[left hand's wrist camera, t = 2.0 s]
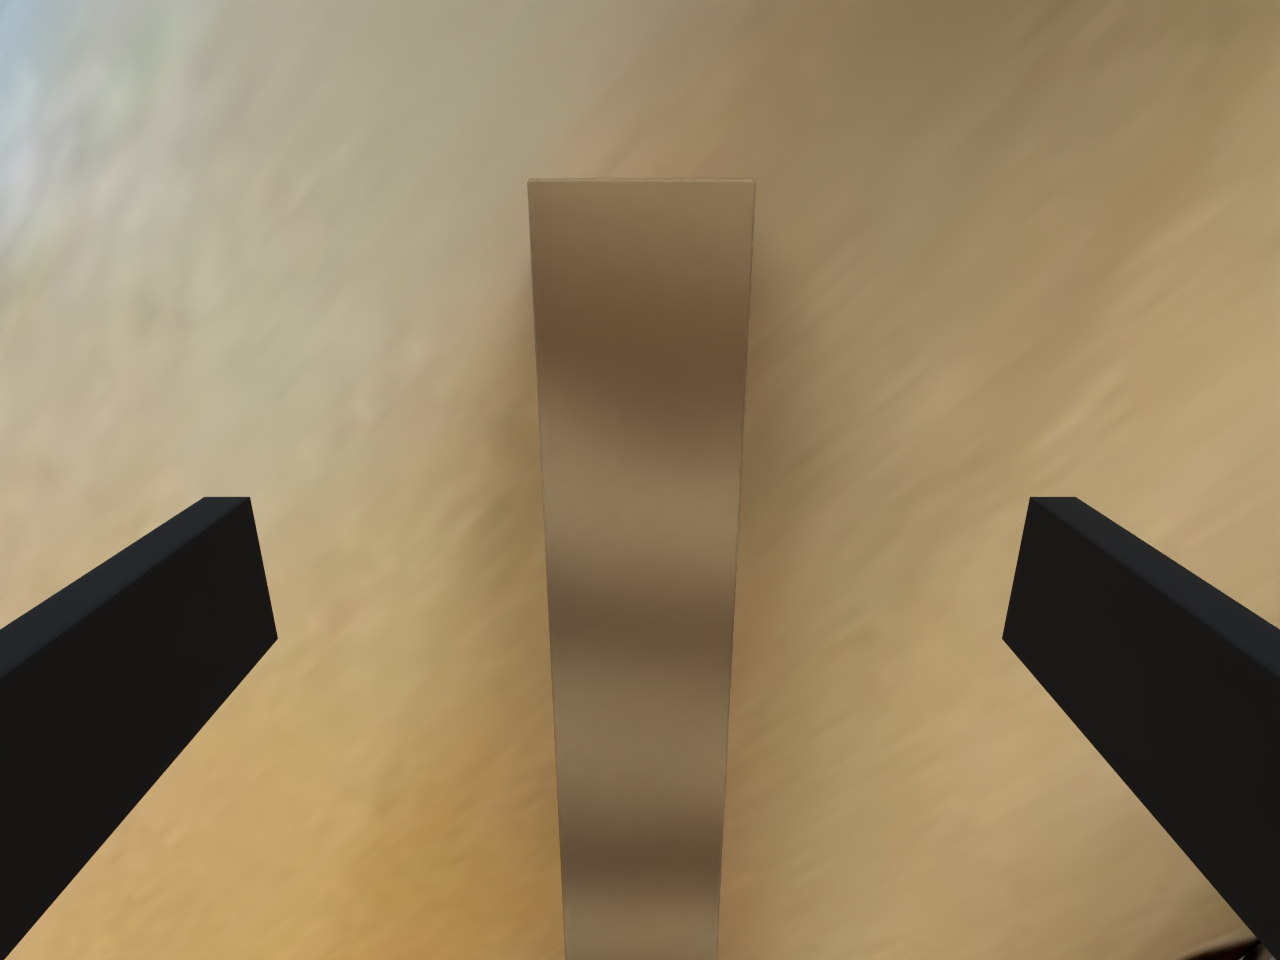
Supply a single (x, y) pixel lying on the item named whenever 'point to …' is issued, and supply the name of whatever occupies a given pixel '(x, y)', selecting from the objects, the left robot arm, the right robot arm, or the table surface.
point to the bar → (641, 542)
